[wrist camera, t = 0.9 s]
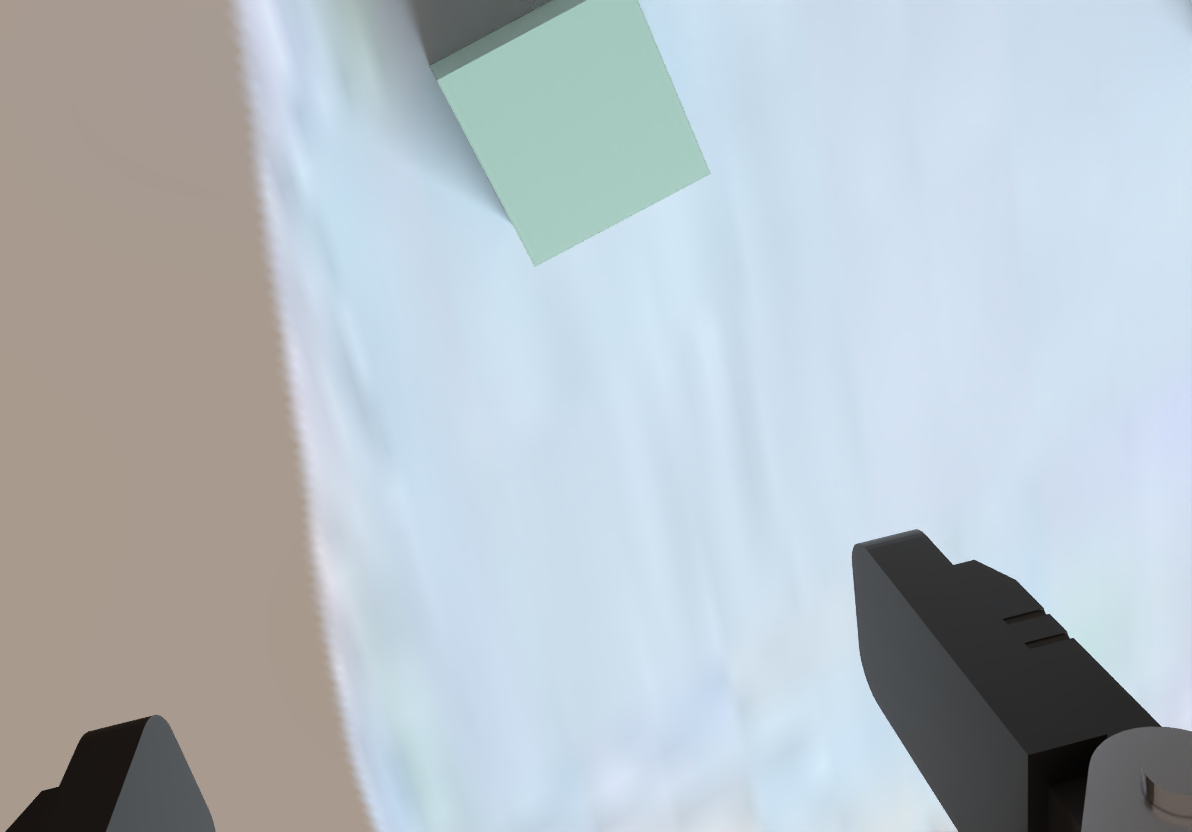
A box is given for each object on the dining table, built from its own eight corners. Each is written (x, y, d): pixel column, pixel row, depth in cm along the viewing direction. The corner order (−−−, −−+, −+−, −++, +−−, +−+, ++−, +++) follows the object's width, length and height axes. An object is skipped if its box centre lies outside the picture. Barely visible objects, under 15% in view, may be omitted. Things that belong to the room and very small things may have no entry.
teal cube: (589, -21, 28) (628, -22, 23) (662, 145, 30) (710, 173, 25) (429, 65, 28) (436, 80, 23) (513, 225, 30) (534, 266, 25)
